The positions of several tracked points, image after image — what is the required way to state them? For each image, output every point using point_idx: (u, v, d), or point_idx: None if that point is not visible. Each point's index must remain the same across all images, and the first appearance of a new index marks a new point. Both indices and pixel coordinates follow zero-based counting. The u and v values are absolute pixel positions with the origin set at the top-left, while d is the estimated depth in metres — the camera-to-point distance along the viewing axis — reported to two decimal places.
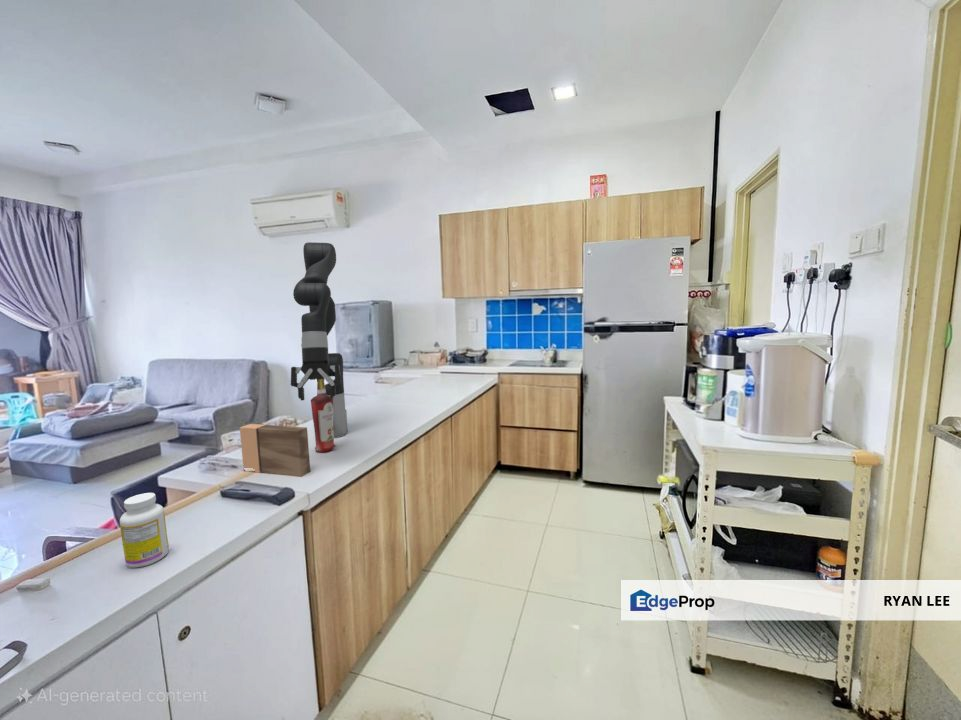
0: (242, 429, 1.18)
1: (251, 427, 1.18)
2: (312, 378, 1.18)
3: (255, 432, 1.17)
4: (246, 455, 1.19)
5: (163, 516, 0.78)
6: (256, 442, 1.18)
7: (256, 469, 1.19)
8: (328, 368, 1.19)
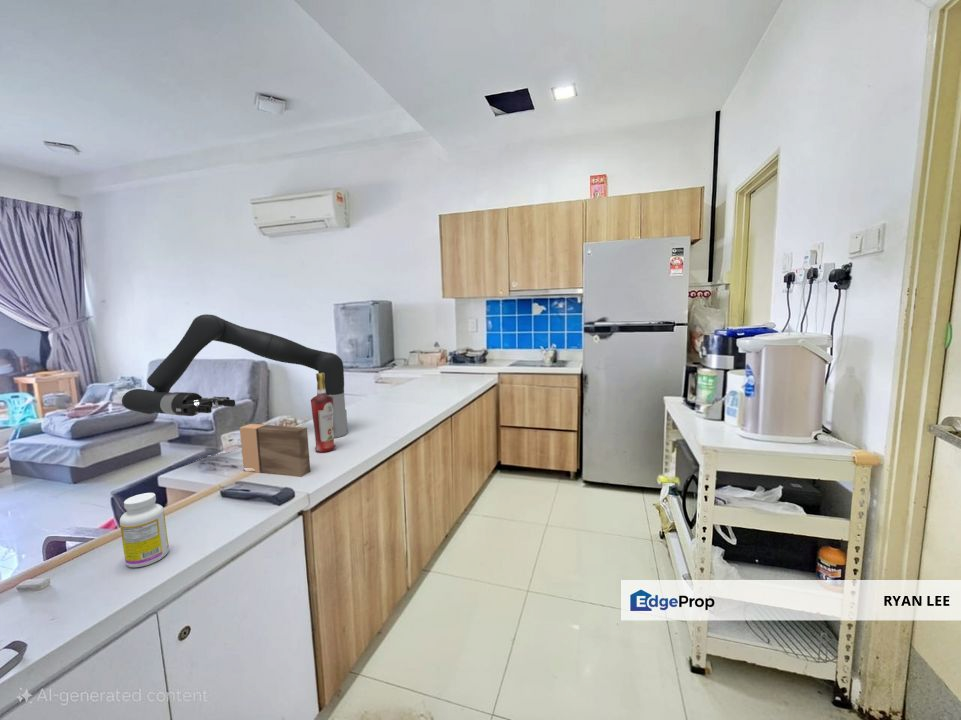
0: (242, 429, 1.18)
1: (251, 427, 1.18)
2: None
3: (255, 432, 1.17)
4: (246, 455, 1.19)
5: (163, 516, 0.78)
6: (256, 442, 1.18)
7: (256, 469, 1.19)
8: None
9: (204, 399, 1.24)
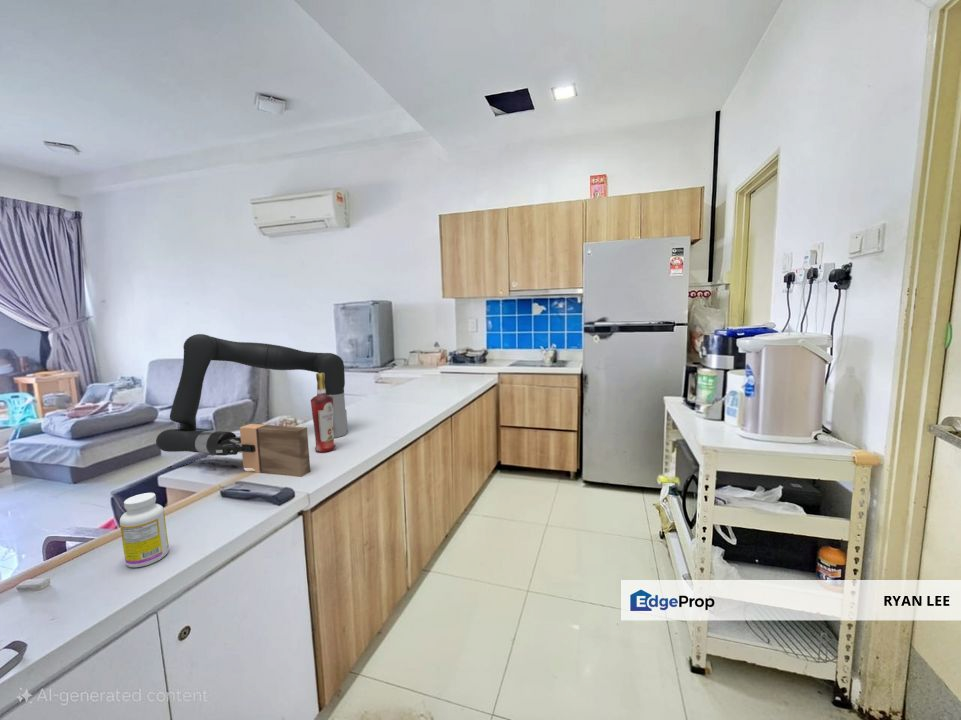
0: (242, 429, 1.18)
1: (251, 427, 1.18)
2: None
3: (255, 432, 1.17)
4: (246, 455, 1.19)
5: (163, 516, 0.78)
6: (256, 442, 1.18)
7: (256, 469, 1.19)
8: None
9: (237, 438, 1.23)
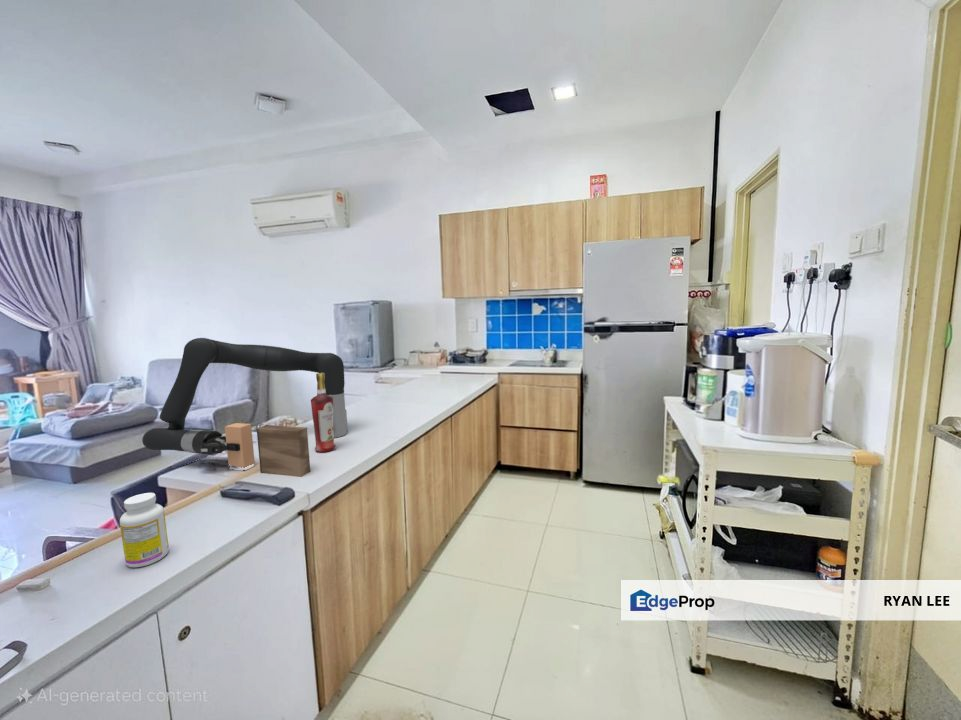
0: (227, 428, 1.20)
1: (236, 426, 1.20)
2: None
3: (240, 431, 1.19)
4: (231, 454, 1.20)
5: (163, 516, 0.78)
6: (241, 441, 1.19)
7: None
8: None
9: (223, 437, 1.24)
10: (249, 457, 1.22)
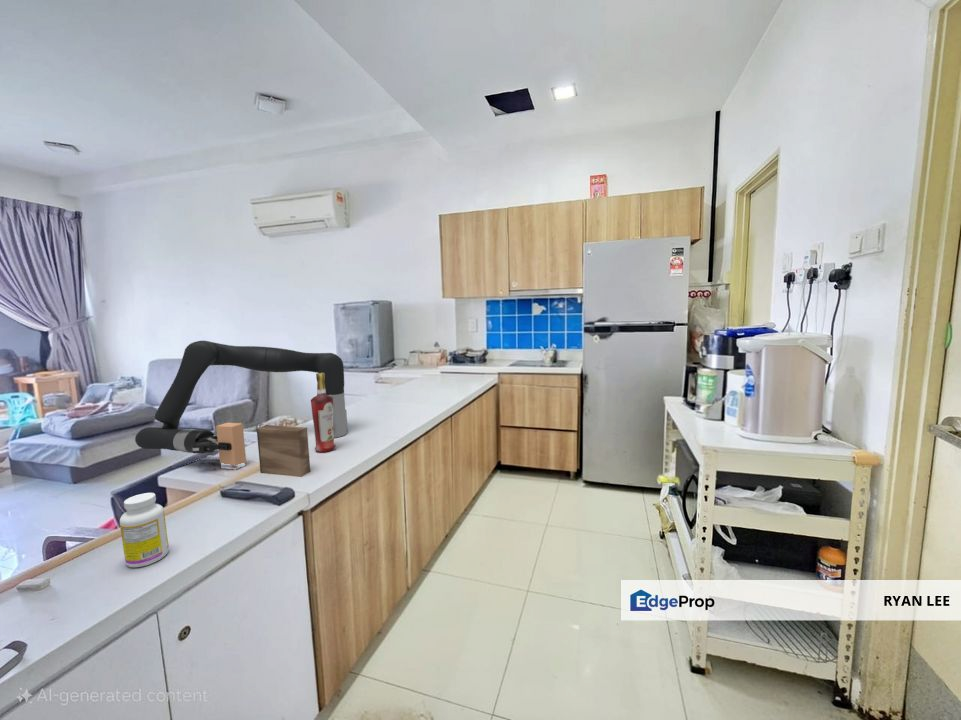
0: (219, 427, 1.20)
1: (227, 425, 1.20)
2: None
3: (231, 430, 1.19)
4: (223, 453, 1.21)
5: (163, 516, 0.78)
6: (232, 440, 1.20)
7: None
8: None
9: (215, 437, 1.25)
10: (241, 457, 1.23)
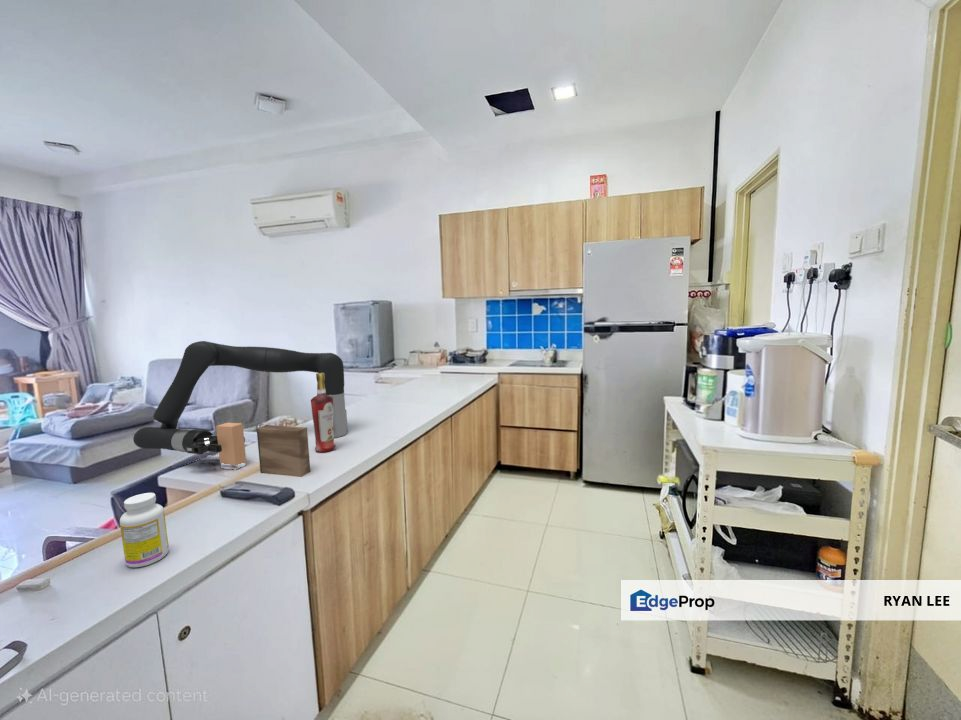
0: (218, 427, 1.20)
1: (227, 425, 1.20)
2: None
3: (231, 430, 1.19)
4: (223, 453, 1.21)
5: (163, 516, 0.78)
6: (232, 440, 1.20)
7: None
8: None
9: (214, 436, 1.25)
10: (241, 457, 1.23)
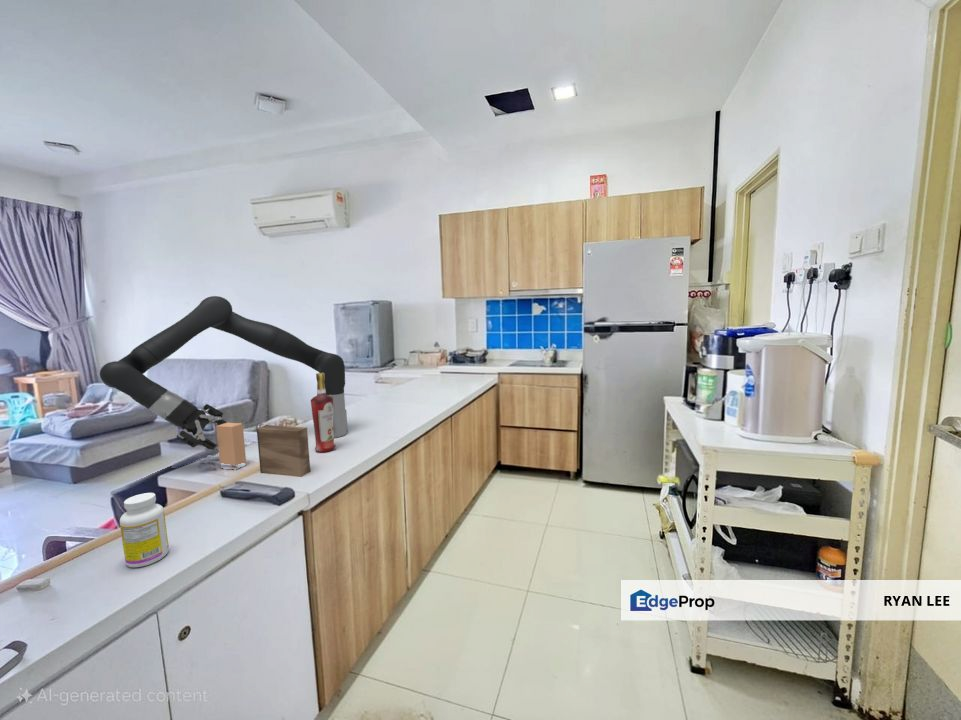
0: (218, 427, 1.20)
1: (227, 425, 1.20)
2: None
3: (231, 430, 1.19)
4: (223, 453, 1.21)
5: (163, 516, 0.78)
6: (232, 440, 1.20)
7: None
8: None
9: (203, 418, 1.21)
10: (241, 457, 1.23)
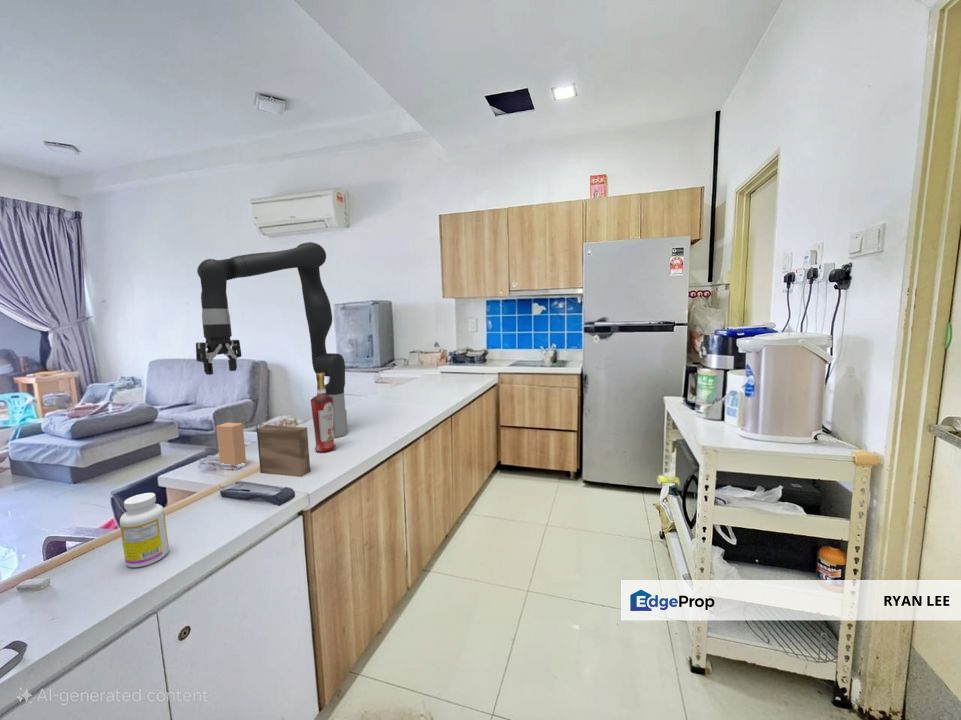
0: (218, 427, 1.20)
1: (227, 425, 1.20)
2: None
3: (231, 430, 1.19)
4: (223, 453, 1.21)
5: (163, 516, 0.78)
6: (232, 440, 1.20)
7: None
8: None
9: (226, 347, 1.26)
10: (241, 457, 1.23)
